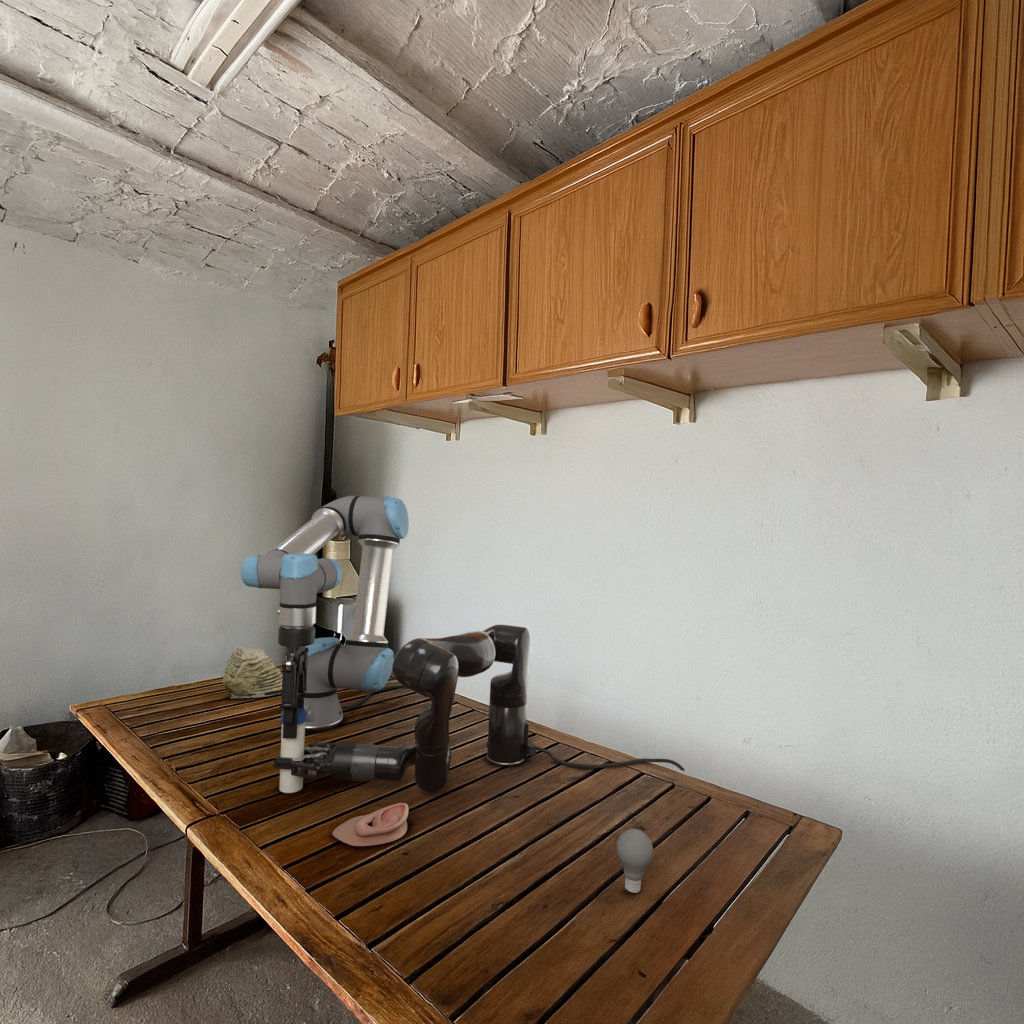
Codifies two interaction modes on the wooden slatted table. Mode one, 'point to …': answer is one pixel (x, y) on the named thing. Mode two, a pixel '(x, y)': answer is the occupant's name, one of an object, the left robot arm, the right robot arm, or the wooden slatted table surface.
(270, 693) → the fossil
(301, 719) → the lid
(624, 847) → the light bulb
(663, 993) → the wooden slatted table surface
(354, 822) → the anatomical model
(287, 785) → the white bottle
